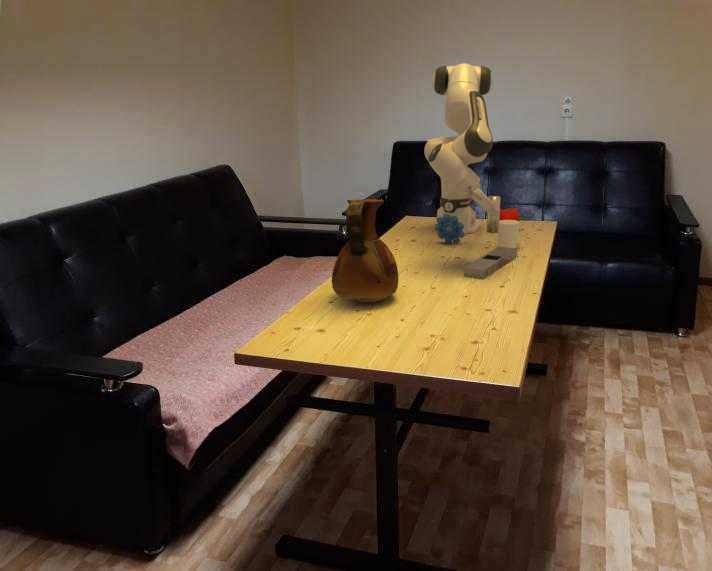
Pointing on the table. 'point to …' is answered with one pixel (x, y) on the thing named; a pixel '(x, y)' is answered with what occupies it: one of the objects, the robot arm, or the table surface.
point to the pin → (491, 219)
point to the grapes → (449, 228)
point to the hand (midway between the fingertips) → (495, 213)
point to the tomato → (509, 215)
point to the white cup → (508, 233)
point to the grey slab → (490, 262)
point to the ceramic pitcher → (364, 257)
